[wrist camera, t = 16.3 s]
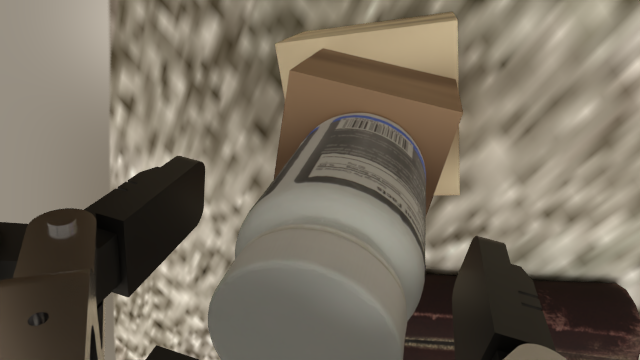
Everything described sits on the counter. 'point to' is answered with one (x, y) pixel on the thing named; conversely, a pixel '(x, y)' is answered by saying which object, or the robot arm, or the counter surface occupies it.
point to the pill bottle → (329, 251)
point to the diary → (560, 313)
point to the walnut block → (371, 104)
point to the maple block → (390, 58)
